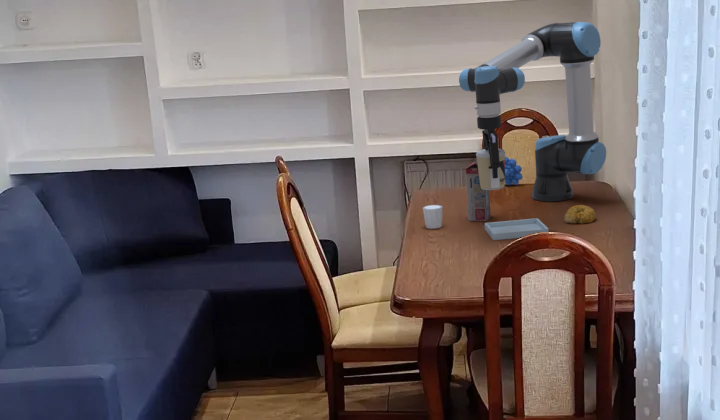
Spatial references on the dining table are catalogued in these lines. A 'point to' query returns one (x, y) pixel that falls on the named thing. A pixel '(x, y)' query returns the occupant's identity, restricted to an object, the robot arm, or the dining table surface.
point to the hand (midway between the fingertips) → (492, 184)
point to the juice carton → (476, 195)
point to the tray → (514, 228)
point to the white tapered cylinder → (433, 216)
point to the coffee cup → (484, 171)
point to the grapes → (512, 172)
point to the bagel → (580, 214)
